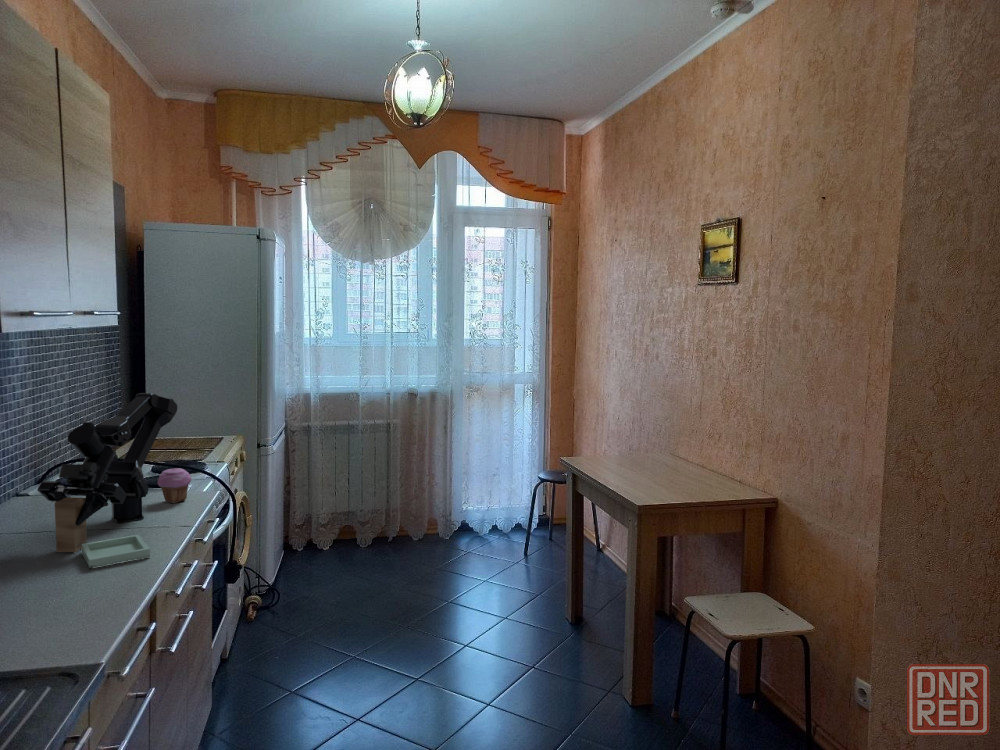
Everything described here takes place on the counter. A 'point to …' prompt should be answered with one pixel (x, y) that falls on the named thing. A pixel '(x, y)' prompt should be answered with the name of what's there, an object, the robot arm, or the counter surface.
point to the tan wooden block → (69, 525)
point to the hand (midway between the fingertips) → (67, 524)
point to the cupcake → (174, 484)
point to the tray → (115, 550)
